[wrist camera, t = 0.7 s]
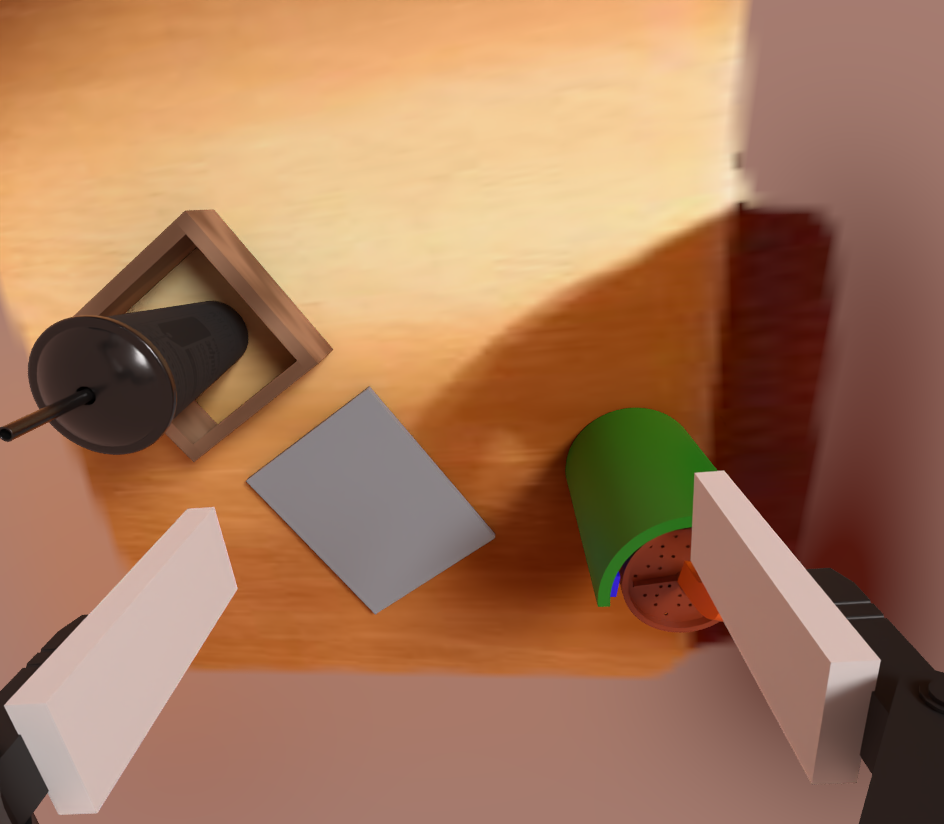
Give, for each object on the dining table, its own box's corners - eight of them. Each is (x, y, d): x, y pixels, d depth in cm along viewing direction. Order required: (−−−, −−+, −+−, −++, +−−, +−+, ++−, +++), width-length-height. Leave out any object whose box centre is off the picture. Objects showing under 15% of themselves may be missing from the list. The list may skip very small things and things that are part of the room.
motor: (563, 510, 48) (608, 713, 29) (568, 407, 45) (621, 558, 26) (690, 511, 47) (818, 717, 28) (703, 407, 44) (857, 560, 25)
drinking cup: (159, 276, 42) (-108, 338, 24) (265, 285, 42) (81, 354, 23) (170, 377, 45) (-64, 505, 26) (269, 386, 45) (106, 521, 26)
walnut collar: (98, 317, 44) (60, 328, 40) (213, 209, 41) (185, 210, 37) (217, 440, 47) (193, 462, 43) (333, 349, 44) (318, 363, 40)
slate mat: (248, 477, 48) (245, 481, 47) (369, 386, 45) (367, 388, 44) (376, 609, 52) (375, 614, 51) (495, 534, 49) (495, 538, 48)
